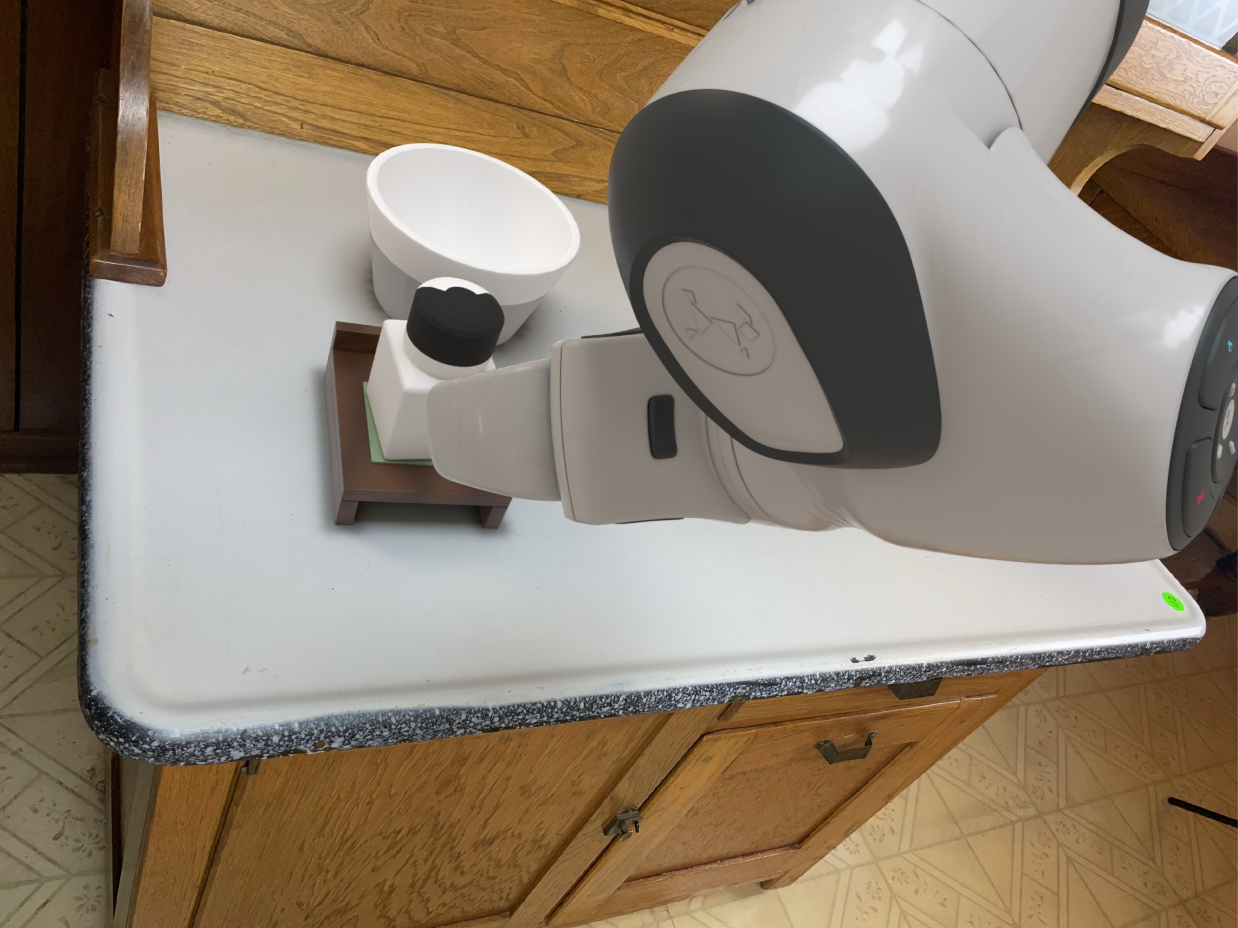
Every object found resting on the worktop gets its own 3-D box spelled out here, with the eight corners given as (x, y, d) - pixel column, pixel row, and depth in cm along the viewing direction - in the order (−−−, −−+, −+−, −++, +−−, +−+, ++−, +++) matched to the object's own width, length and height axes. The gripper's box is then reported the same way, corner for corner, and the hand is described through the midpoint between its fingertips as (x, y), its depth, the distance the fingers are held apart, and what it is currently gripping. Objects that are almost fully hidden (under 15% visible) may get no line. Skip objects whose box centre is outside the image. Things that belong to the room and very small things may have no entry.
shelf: (334, 525, 60) (348, 469, 56) (323, 377, 69) (335, 320, 65) (498, 529, 65) (521, 479, 61) (468, 392, 74) (487, 340, 70)
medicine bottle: (479, 460, 63) (529, 338, 56) (383, 462, 60) (422, 332, 52) (456, 392, 67) (499, 269, 60) (364, 390, 64) (397, 259, 56)
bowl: (330, 338, 72) (352, 232, 65) (357, 217, 85) (378, 118, 78) (547, 390, 79) (588, 298, 72) (541, 270, 92) (575, 182, 85)
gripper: (909, 320, 39) (703, 336, 50) (531, 341, 27) (367, 357, 38) (912, 455, 40) (709, 442, 51) (547, 536, 28) (382, 496, 39)
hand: (560, 406), depth 44 cm, fingers open, 8 cm apart
